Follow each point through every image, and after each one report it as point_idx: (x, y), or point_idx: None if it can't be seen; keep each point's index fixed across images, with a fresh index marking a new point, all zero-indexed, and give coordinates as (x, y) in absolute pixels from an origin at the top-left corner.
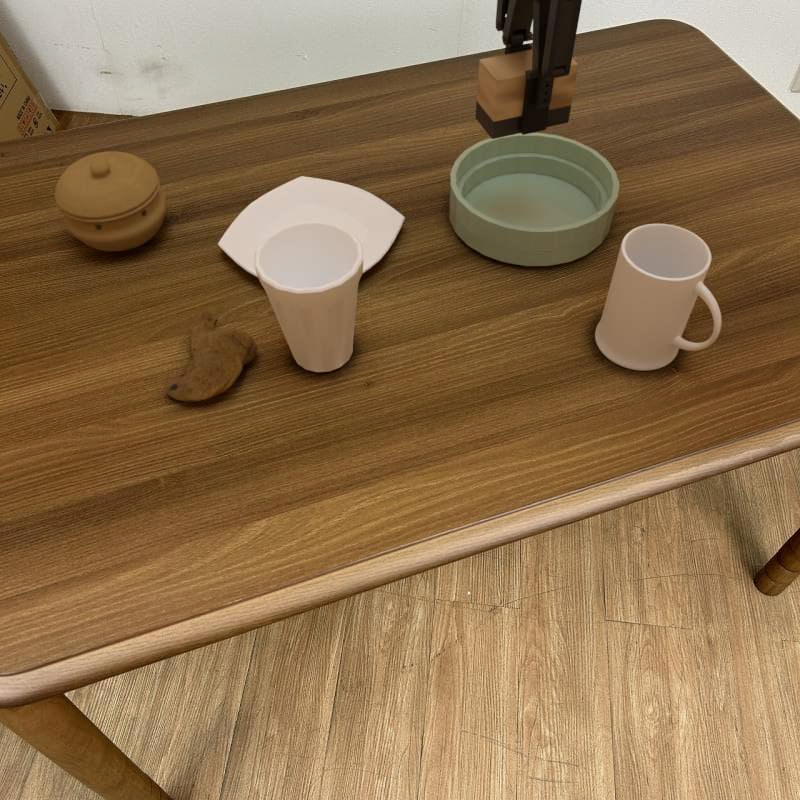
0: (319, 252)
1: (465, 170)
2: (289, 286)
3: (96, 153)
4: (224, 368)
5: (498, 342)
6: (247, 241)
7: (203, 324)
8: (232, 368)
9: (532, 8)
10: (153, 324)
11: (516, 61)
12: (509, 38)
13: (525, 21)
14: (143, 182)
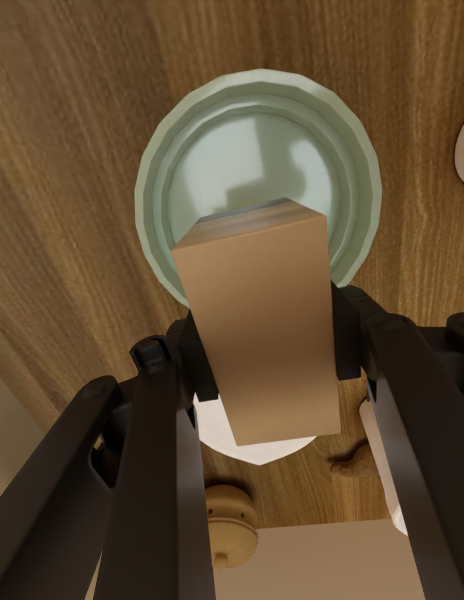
0: (391, 475)
1: None
2: None
3: None
4: None
5: (430, 288)
6: (258, 449)
7: (348, 474)
8: None
9: (183, 475)
10: (315, 479)
11: (263, 384)
12: (195, 417)
13: (184, 431)
14: (232, 536)
